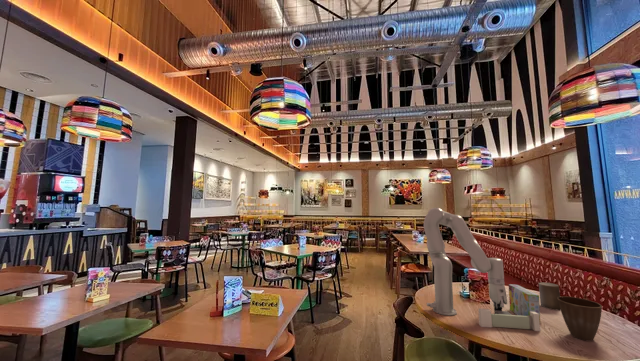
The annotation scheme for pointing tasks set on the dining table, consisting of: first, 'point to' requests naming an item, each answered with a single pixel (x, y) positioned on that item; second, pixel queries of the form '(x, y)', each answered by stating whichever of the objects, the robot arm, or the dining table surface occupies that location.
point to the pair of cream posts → (486, 319)
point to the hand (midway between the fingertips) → (498, 315)
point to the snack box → (523, 301)
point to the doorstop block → (502, 312)
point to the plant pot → (580, 316)
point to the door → (511, 321)
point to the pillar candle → (549, 295)
